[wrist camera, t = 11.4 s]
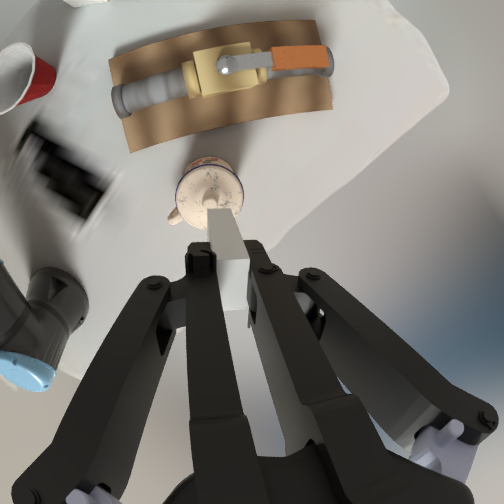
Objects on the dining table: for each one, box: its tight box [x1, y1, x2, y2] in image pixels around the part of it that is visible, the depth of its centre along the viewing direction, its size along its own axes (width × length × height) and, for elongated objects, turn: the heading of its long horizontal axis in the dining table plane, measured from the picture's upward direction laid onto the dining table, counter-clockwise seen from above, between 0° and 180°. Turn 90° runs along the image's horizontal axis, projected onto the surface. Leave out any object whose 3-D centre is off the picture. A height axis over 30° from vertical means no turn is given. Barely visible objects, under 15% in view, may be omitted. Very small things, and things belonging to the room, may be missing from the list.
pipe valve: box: [108, 20, 334, 153], centre depth 31 cm, size 32×16×9 cm, turn 101°
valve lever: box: [216, 45, 330, 76], centre depth 27 cm, size 14×3×2 cm, turn 100°
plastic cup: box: [0, 42, 56, 115], centre depth 23 cm, size 11×11×12 cm
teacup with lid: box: [168, 157, 244, 230], centre depth 38 cm, size 12×9×12 cm
